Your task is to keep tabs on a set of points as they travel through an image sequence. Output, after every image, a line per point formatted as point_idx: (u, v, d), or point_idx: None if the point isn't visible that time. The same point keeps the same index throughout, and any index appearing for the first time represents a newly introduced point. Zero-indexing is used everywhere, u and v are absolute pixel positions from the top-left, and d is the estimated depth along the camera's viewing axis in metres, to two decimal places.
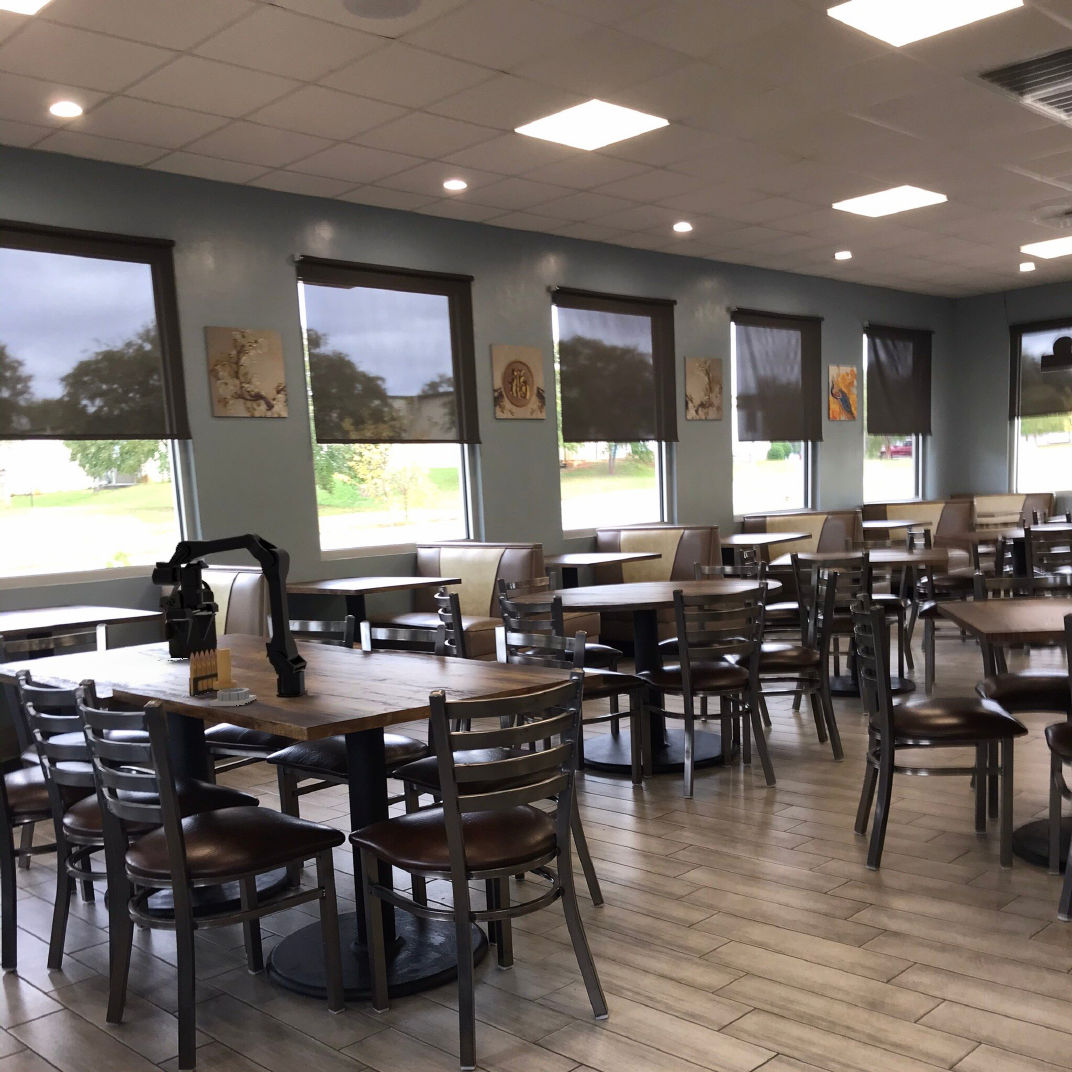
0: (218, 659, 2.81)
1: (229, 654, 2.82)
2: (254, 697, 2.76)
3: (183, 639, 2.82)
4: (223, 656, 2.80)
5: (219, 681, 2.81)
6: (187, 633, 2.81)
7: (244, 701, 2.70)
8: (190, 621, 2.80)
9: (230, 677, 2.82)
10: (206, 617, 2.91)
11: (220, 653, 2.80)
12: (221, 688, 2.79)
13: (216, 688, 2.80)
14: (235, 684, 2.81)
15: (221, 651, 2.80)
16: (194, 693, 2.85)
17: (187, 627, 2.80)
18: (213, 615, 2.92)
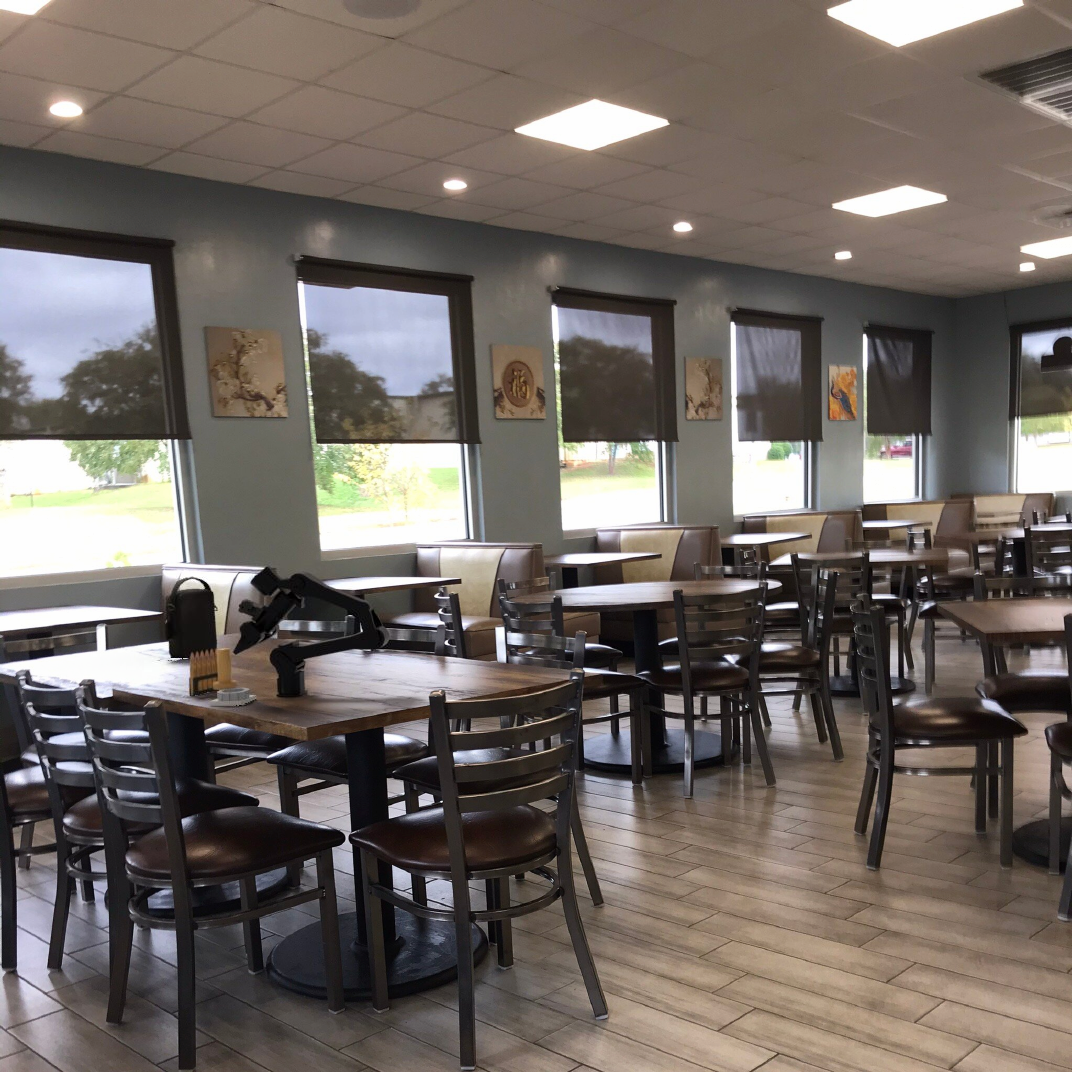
0: (218, 659, 2.81)
1: (229, 654, 2.82)
2: (254, 697, 2.76)
3: (236, 649, 2.77)
4: (223, 656, 2.80)
5: (219, 681, 2.81)
6: (244, 649, 2.76)
7: (244, 701, 2.70)
8: (256, 644, 2.75)
9: (230, 677, 2.82)
10: None
11: (220, 653, 2.80)
12: (221, 688, 2.79)
13: (216, 688, 2.80)
14: (235, 684, 2.81)
15: (221, 651, 2.80)
16: (194, 693, 2.85)
17: (249, 646, 2.75)
18: (270, 637, 2.88)
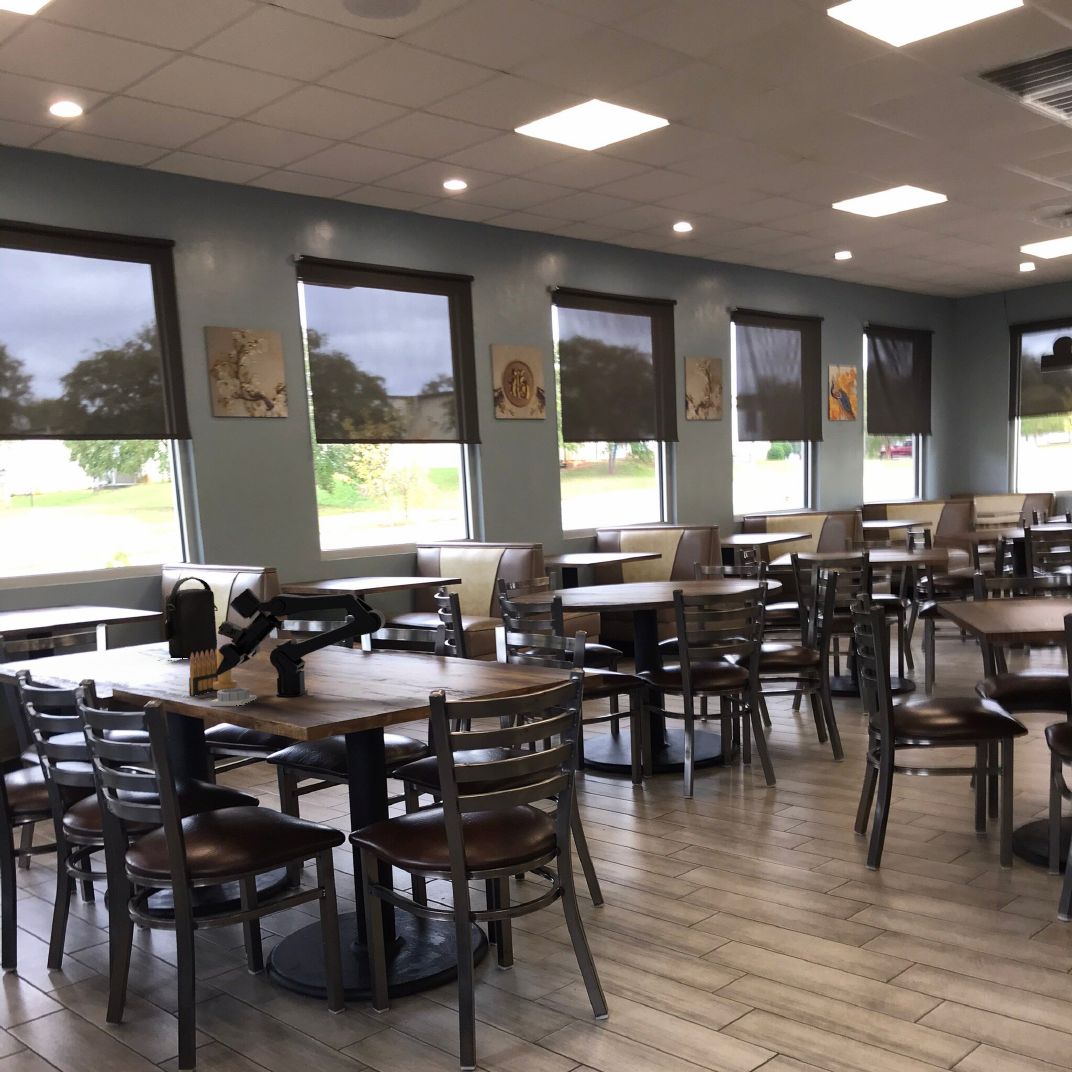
0: (218, 659, 2.81)
1: None
2: (254, 697, 2.76)
3: (219, 669, 2.80)
4: (223, 656, 2.80)
5: (219, 681, 2.81)
6: (227, 669, 2.79)
7: (244, 701, 2.70)
8: None
9: (230, 677, 2.82)
10: None
11: (220, 653, 2.80)
12: (221, 688, 2.79)
13: (216, 688, 2.80)
14: (235, 684, 2.81)
15: None
16: (194, 693, 2.85)
17: (231, 666, 2.78)
18: (247, 660, 2.85)
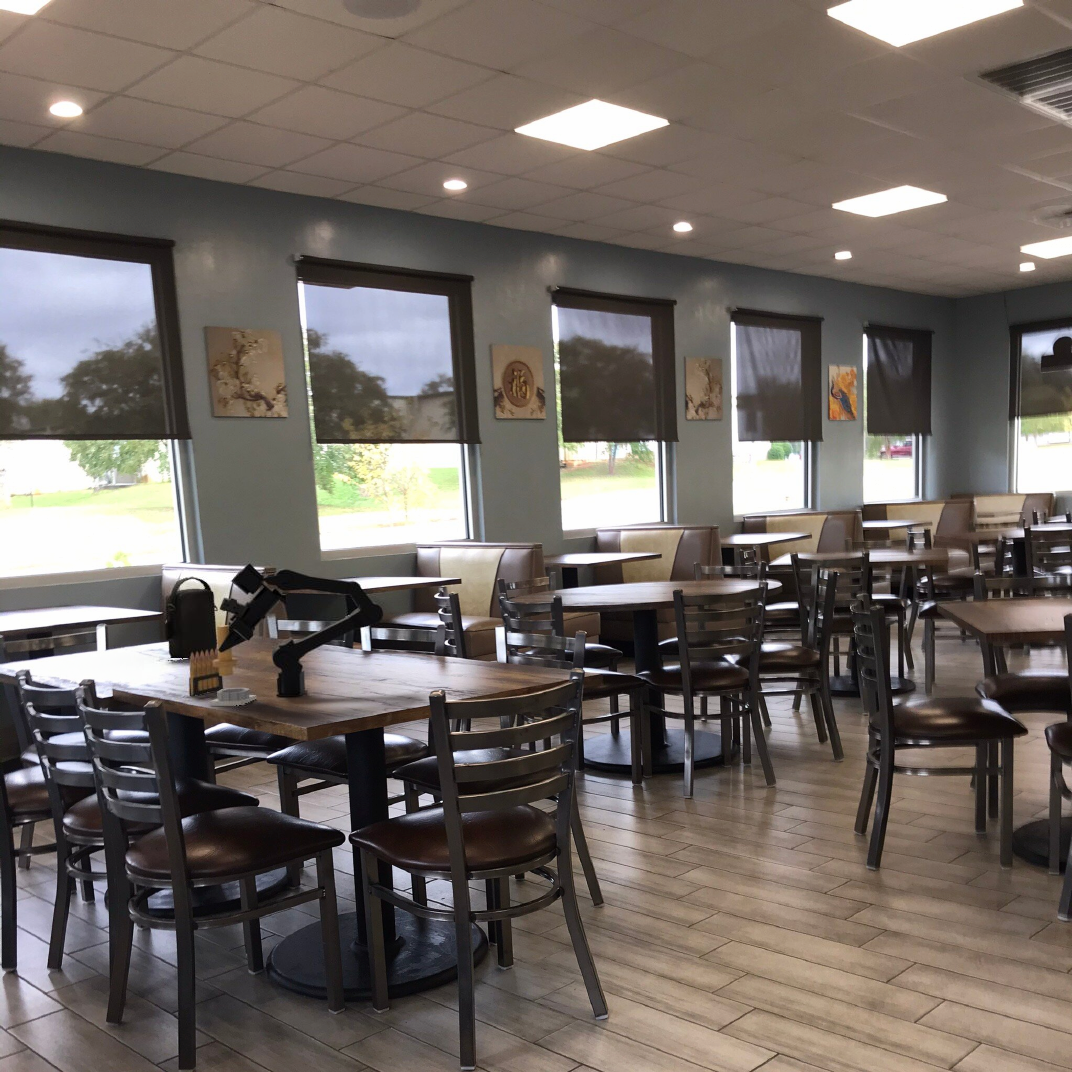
0: (220, 636, 2.75)
1: None
2: (254, 697, 2.76)
3: (222, 647, 2.74)
4: (225, 633, 2.75)
5: (221, 659, 2.75)
6: (231, 646, 2.74)
7: (244, 701, 2.70)
8: (244, 640, 2.74)
9: (231, 654, 2.77)
10: None
11: (222, 630, 2.75)
12: (225, 665, 2.74)
13: (219, 666, 2.74)
14: (237, 661, 2.77)
15: (223, 628, 2.75)
16: (194, 693, 2.85)
17: (237, 642, 2.74)
18: None
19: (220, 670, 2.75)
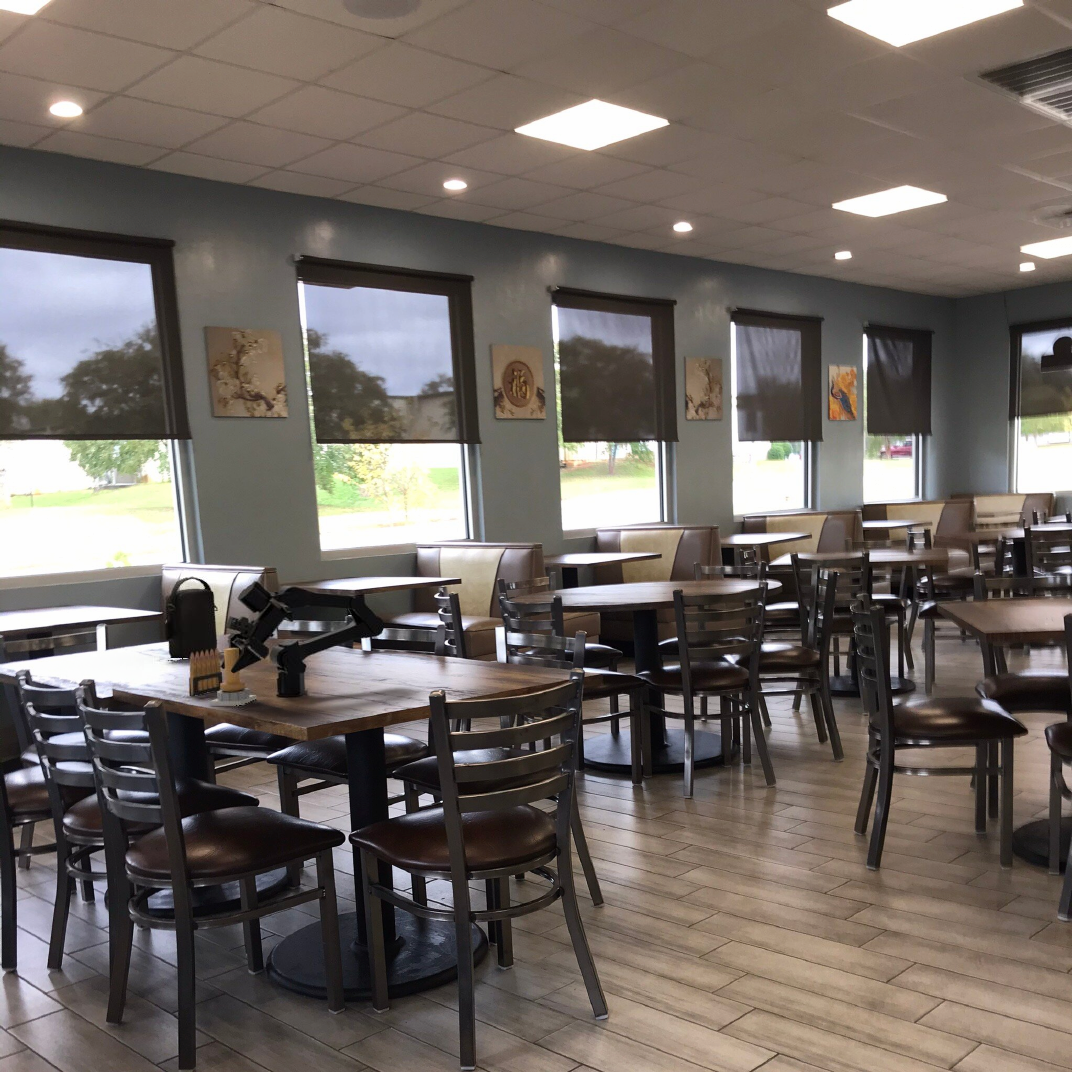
0: (229, 659, 2.71)
1: (238, 653, 2.73)
2: (254, 697, 2.76)
3: (235, 667, 2.68)
4: (235, 655, 2.72)
5: (230, 682, 2.71)
6: (245, 666, 2.69)
7: (244, 701, 2.70)
8: None
9: (239, 677, 2.74)
10: (240, 652, 2.79)
11: (232, 653, 2.71)
12: (236, 688, 2.70)
13: (230, 689, 2.70)
14: (245, 684, 2.74)
15: (233, 650, 2.71)
16: (194, 693, 2.85)
17: (251, 662, 2.69)
18: None
19: None
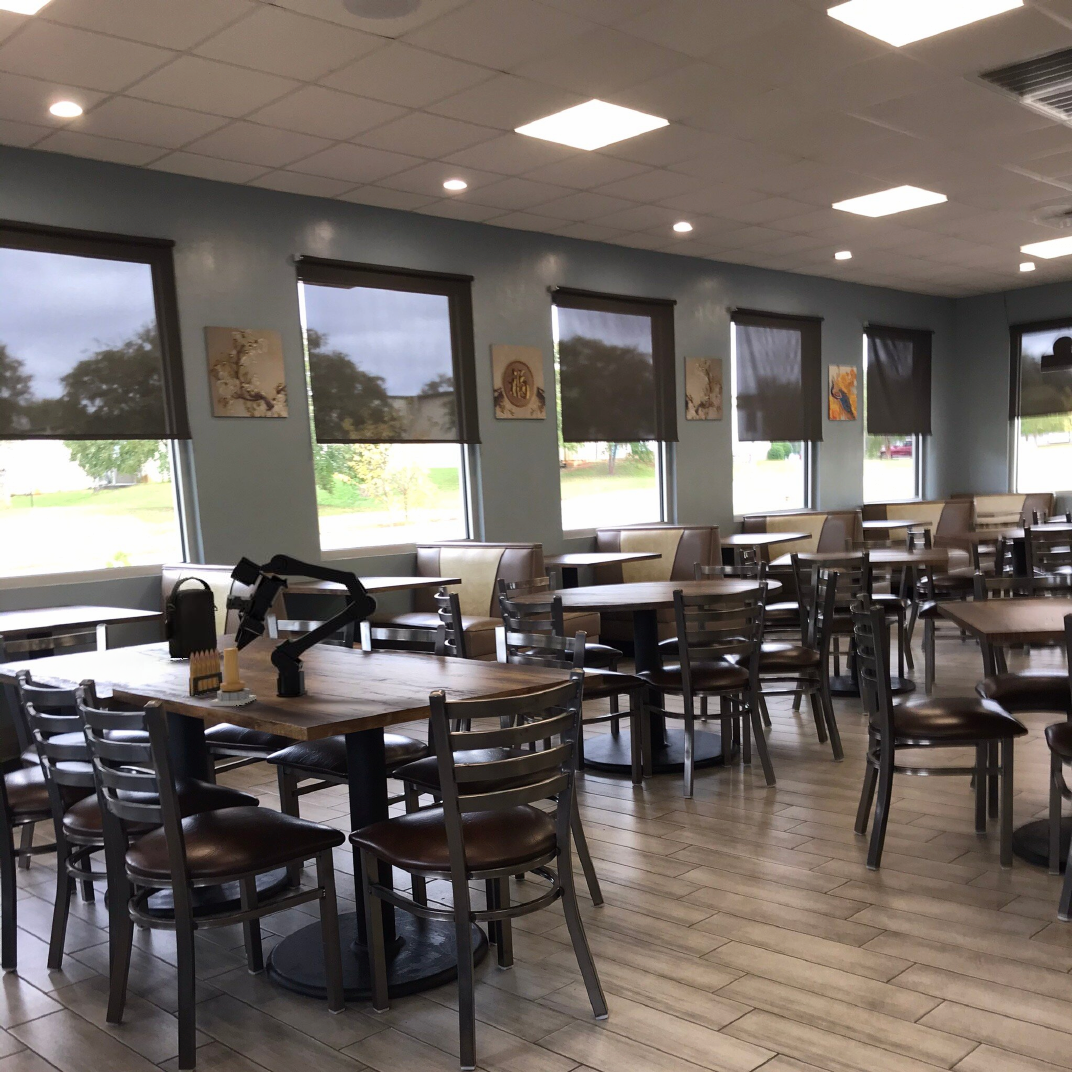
0: (229, 659, 2.71)
1: (237, 653, 2.73)
2: (254, 697, 2.76)
3: (239, 645, 2.75)
4: (234, 655, 2.72)
5: (230, 682, 2.71)
6: (247, 643, 2.75)
7: (244, 701, 2.70)
8: None
9: (239, 677, 2.74)
10: None
11: (231, 653, 2.71)
12: (236, 688, 2.70)
13: (230, 689, 2.70)
14: None
15: (232, 650, 2.71)
16: (194, 693, 2.85)
17: (252, 639, 2.75)
18: None
19: None
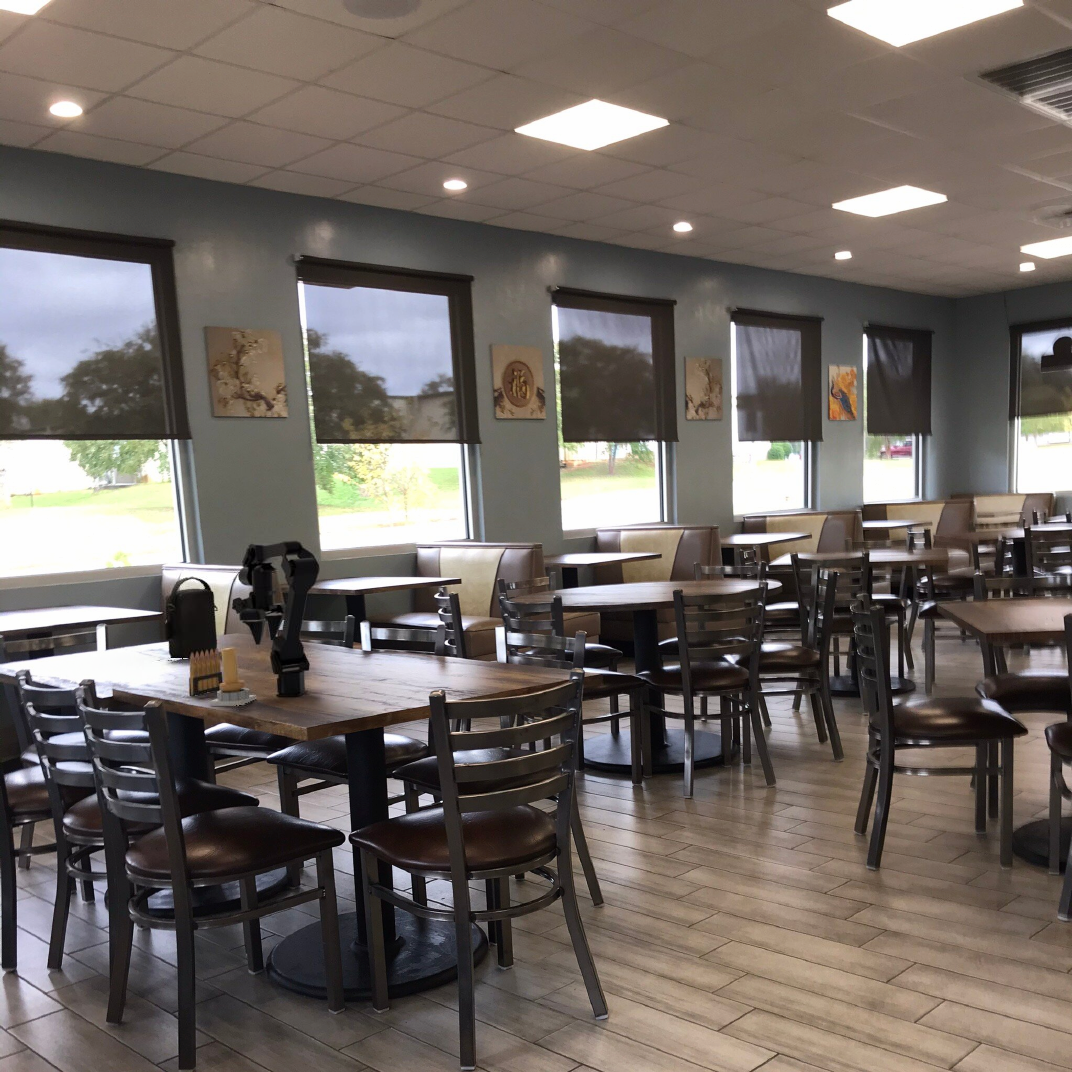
0: (227, 659, 2.71)
1: (235, 653, 2.73)
2: (254, 697, 2.76)
3: (256, 639, 2.88)
4: (232, 655, 2.72)
5: (229, 682, 2.71)
6: (260, 634, 2.88)
7: (244, 701, 2.70)
8: (263, 622, 2.87)
9: (238, 676, 2.74)
10: (276, 618, 2.98)
11: (229, 652, 2.71)
12: (236, 688, 2.70)
13: (229, 689, 2.70)
14: (244, 683, 2.74)
15: (230, 650, 2.71)
16: (194, 693, 2.85)
17: (260, 628, 2.87)
18: (283, 616, 2.99)
19: None
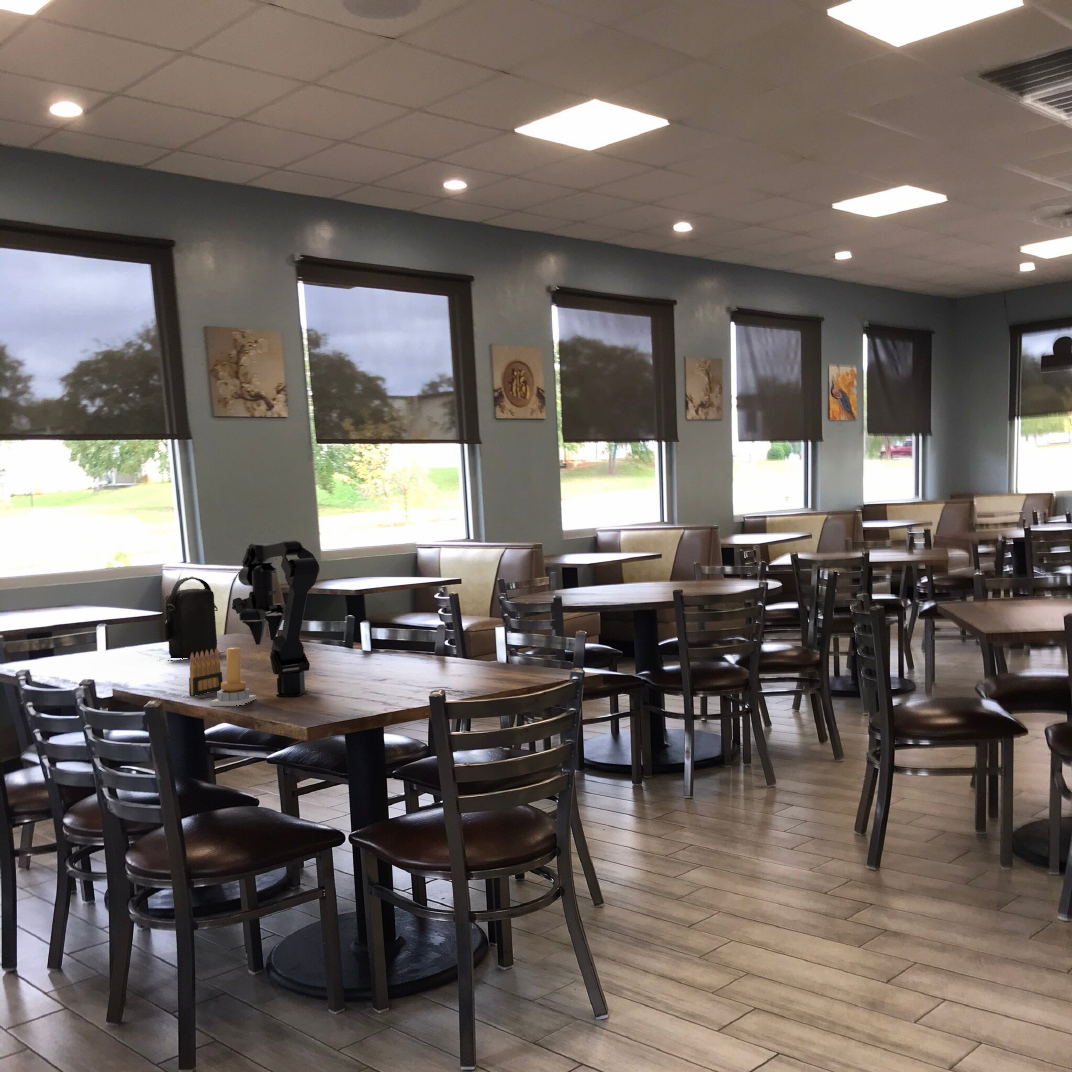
0: (231, 659, 2.71)
1: (240, 653, 2.74)
2: (254, 697, 2.76)
3: (256, 639, 2.88)
4: (237, 655, 2.72)
5: (231, 681, 2.71)
6: (260, 634, 2.88)
7: (244, 701, 2.70)
8: (263, 622, 2.87)
9: (240, 677, 2.74)
10: (276, 618, 2.98)
11: (234, 652, 2.71)
12: (237, 688, 2.70)
13: (231, 689, 2.70)
14: None
15: (235, 650, 2.71)
16: (194, 693, 2.85)
17: (260, 628, 2.87)
18: (283, 616, 2.99)
19: None
